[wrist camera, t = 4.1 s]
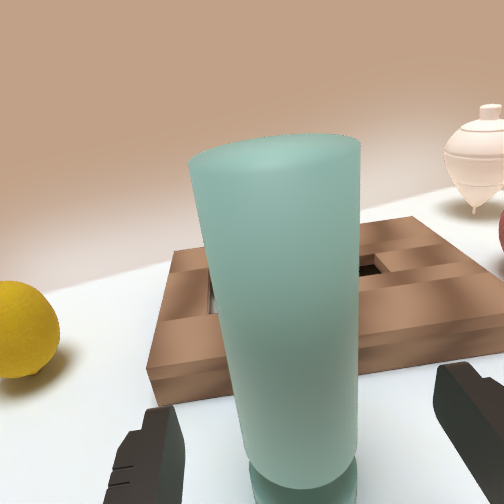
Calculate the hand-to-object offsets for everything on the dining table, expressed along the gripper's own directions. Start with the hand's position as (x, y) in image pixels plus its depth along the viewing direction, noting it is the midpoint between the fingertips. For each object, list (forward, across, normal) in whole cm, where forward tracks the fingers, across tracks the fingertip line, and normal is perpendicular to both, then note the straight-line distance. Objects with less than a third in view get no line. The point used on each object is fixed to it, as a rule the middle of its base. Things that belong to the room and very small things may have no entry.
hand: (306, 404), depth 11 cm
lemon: (+14, +18, +9) cm, 25 cm away
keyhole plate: (+17, -4, +9) cm, 20 cm away
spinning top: (+30, -26, +9) cm, 41 cm away
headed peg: (+3, 0, +9) cm, 10 cm away
